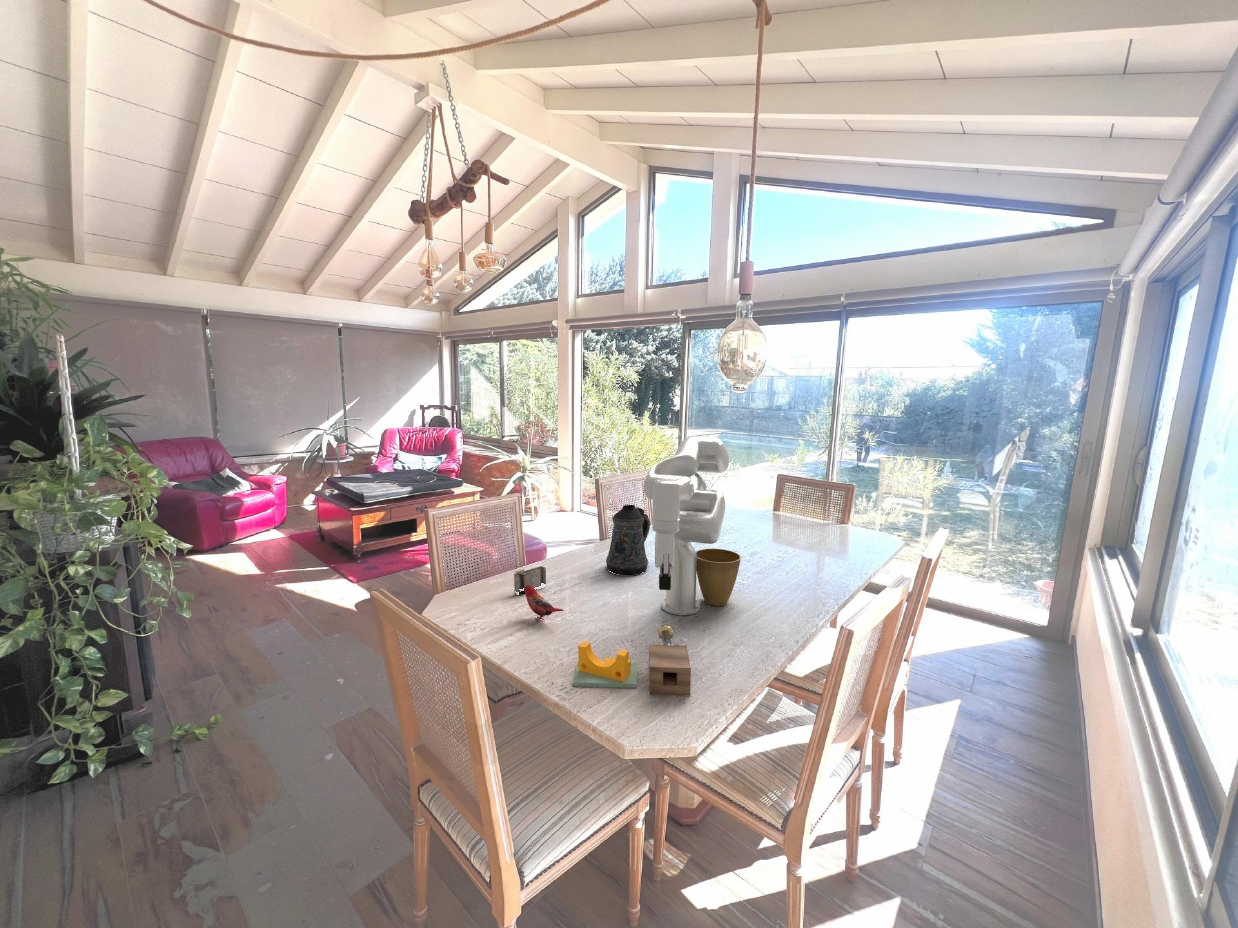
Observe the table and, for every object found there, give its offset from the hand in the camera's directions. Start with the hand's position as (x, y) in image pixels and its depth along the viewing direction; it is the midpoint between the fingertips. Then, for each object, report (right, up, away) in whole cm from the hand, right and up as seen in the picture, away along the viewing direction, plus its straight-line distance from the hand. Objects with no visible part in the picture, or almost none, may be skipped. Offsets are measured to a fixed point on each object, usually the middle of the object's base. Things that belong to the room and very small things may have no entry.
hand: (664, 588), depth 136 cm
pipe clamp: (-16, -16, -17) cm, 29 cm away
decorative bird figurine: (-35, -13, +11) cm, 39 cm away
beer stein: (-9, -6, +57) cm, 58 cm away
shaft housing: (-1, -17, -20) cm, 27 cm away
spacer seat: (-16, -17, -18) cm, 29 cm away
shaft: (-1, -14, -11) cm, 18 cm away
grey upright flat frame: (-43, -10, +34) cm, 56 cm away
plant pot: (+19, -11, +25) cm, 34 cm away
